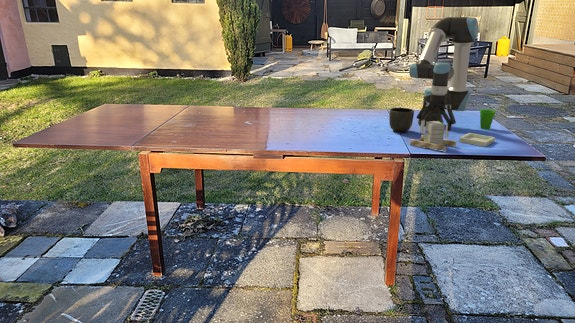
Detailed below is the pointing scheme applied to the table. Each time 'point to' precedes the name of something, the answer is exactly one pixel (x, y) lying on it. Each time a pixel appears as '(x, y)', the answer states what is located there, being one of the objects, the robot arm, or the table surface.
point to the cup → (486, 118)
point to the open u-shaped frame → (431, 145)
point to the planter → (401, 119)
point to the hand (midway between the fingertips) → (433, 134)
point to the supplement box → (434, 132)
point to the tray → (477, 139)
